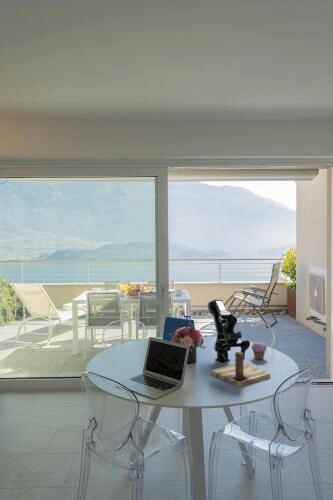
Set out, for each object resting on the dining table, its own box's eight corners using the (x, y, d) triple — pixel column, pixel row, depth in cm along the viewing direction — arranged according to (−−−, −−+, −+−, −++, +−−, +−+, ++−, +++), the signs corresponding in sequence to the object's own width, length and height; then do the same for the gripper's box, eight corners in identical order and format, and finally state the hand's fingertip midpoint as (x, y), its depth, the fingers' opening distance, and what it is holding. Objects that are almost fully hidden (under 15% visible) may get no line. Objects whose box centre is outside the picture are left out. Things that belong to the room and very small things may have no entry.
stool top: (210, 373, 219) (210, 370, 219) (241, 365, 231) (240, 361, 231) (239, 387, 200) (239, 383, 200) (270, 377, 212) (270, 373, 212)
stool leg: (234, 382, 206) (233, 353, 205) (237, 380, 209) (237, 351, 208) (241, 384, 204) (241, 355, 203) (244, 381, 207) (244, 352, 206)
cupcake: (249, 356, 246) (249, 339, 246) (263, 355, 247) (263, 339, 246) (254, 361, 237) (254, 344, 237) (268, 360, 238) (268, 343, 237)
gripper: (215, 327, 216) (220, 354, 206) (249, 325, 218) (256, 352, 208) (211, 337, 225) (217, 364, 215) (244, 335, 227) (251, 361, 217)
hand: (235, 360), depth 213 cm, fingers open, 9 cm apart
